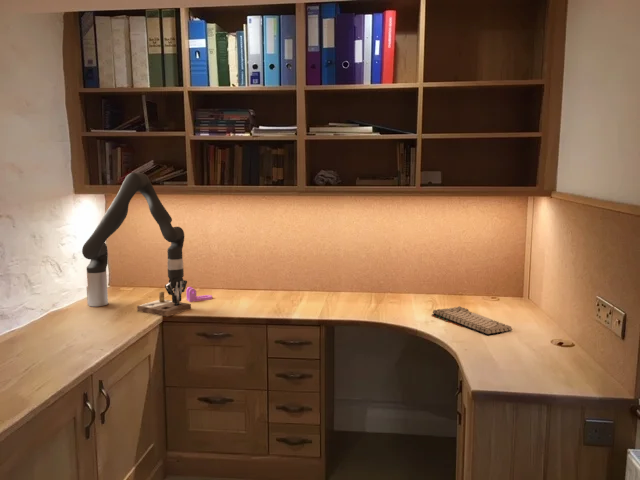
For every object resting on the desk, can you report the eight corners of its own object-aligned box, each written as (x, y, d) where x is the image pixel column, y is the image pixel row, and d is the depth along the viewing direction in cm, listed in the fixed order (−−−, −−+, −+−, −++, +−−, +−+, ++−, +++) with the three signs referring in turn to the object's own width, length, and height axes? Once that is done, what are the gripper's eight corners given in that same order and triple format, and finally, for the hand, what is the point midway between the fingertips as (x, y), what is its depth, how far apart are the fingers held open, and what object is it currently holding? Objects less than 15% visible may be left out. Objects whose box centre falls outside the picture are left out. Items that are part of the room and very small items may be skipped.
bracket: (189, 302, 280) (189, 289, 279) (186, 300, 285) (186, 287, 284) (213, 299, 286) (213, 286, 285) (210, 297, 291) (210, 284, 290)
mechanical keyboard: (518, 331, 232) (518, 324, 232) (486, 338, 223) (486, 330, 223) (457, 311, 265) (458, 304, 265) (427, 316, 256) (427, 309, 256)
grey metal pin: (173, 306, 264) (172, 288, 263) (177, 305, 266) (176, 287, 265) (177, 306, 263) (176, 288, 262) (180, 305, 265) (180, 288, 264)
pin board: (137, 311, 262) (136, 295, 261) (161, 303, 276) (161, 289, 275) (167, 316, 253) (166, 300, 251) (190, 308, 266) (190, 293, 265)
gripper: (179, 264, 270) (181, 298, 272) (159, 269, 258) (160, 304, 260) (191, 266, 266) (192, 299, 269) (170, 270, 254) (172, 306, 257)
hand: (176, 301), depth 264 cm, fingers closed on grey metal pin, 2 cm apart
